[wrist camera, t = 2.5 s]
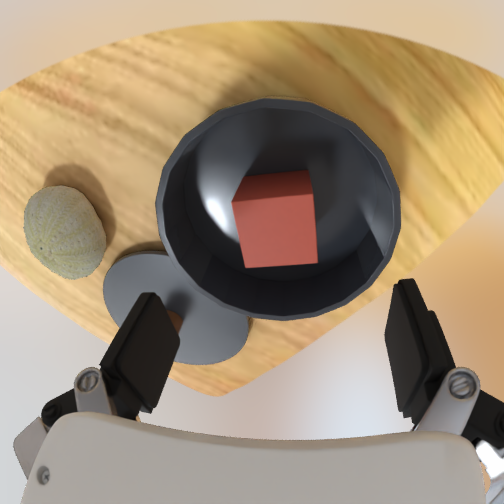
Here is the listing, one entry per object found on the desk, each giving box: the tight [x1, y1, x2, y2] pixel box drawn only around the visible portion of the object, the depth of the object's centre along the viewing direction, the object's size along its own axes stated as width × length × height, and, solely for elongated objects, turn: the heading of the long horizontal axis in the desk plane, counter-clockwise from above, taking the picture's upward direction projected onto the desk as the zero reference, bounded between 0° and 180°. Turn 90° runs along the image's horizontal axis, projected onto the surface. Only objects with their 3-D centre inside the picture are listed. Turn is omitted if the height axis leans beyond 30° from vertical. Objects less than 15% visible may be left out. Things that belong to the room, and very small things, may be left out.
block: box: [231, 170, 318, 268], centre depth 18 cm, size 4×4×4 cm
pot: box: [155, 96, 401, 321], centre depth 18 cm, size 15×15×4 cm
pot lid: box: [103, 251, 249, 365], centre depth 25 cm, size 15×15×7 cm
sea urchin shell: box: [23, 185, 106, 280], centre depth 22 cm, size 9×8×8 cm
